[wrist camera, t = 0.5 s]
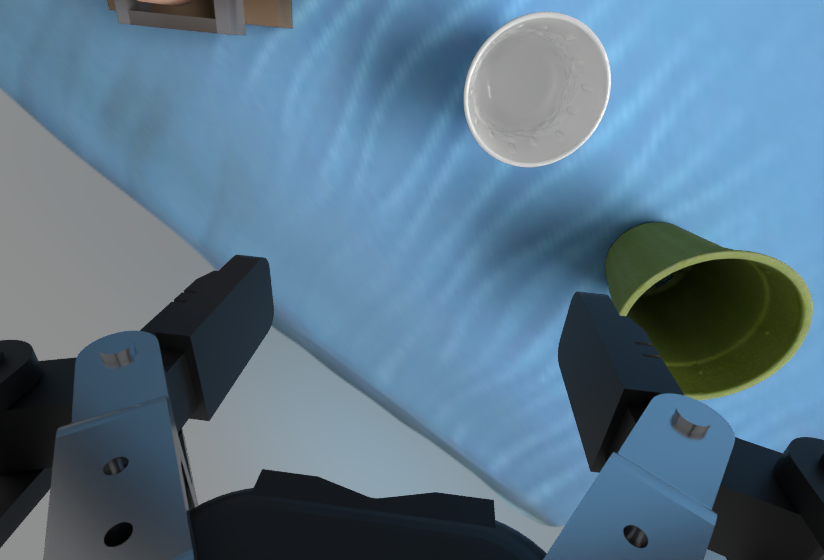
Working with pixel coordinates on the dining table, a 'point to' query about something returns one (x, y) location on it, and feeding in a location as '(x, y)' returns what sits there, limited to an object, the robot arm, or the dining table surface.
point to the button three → (168, 2)
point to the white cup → (537, 89)
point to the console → (206, 14)
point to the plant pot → (709, 307)
